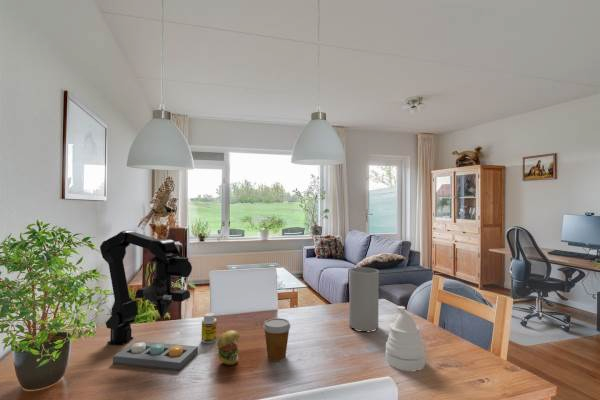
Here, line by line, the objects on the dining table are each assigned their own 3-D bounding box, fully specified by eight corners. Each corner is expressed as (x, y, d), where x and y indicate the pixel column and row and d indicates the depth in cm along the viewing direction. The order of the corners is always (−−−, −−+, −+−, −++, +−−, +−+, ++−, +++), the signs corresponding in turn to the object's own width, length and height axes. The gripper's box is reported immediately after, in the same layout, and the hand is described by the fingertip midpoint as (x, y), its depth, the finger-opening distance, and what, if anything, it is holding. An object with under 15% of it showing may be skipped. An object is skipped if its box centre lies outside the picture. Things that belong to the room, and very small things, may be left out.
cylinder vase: (356, 320, 149) (357, 266, 150) (382, 326, 142) (383, 269, 142) (344, 328, 139) (344, 270, 140) (371, 335, 132) (371, 274, 132)
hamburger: (234, 369, 103) (234, 331, 104) (213, 367, 104) (213, 330, 105) (242, 358, 111) (242, 323, 111) (222, 356, 112) (223, 321, 112)
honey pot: (377, 356, 113) (378, 305, 114) (406, 350, 118) (406, 301, 119) (403, 374, 101) (403, 317, 102) (433, 366, 106) (433, 312, 107)
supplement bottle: (203, 345, 121) (204, 317, 121) (199, 339, 126) (200, 313, 126) (218, 341, 124) (218, 315, 124) (213, 336, 129) (214, 311, 129)
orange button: (166, 360, 107) (166, 350, 107) (173, 354, 111) (173, 345, 111) (178, 361, 106) (178, 351, 106) (185, 355, 111) (185, 346, 111)
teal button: (147, 358, 108) (147, 348, 108) (154, 352, 112) (155, 343, 112) (158, 359, 107) (159, 350, 107) (166, 353, 112) (166, 344, 112)
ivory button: (128, 356, 109) (128, 347, 109) (137, 350, 114) (137, 341, 114) (140, 357, 109) (140, 348, 109) (148, 351, 113) (148, 342, 113)
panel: (112, 363, 106) (112, 356, 106) (136, 348, 118) (137, 340, 118) (179, 370, 102) (179, 362, 102) (197, 353, 114) (198, 346, 114)
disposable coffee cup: (293, 353, 115) (294, 319, 115) (284, 365, 106) (284, 329, 106) (269, 349, 118) (270, 316, 118) (258, 360, 109) (258, 325, 109)
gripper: (125, 277, 111) (123, 322, 111) (173, 281, 107) (172, 328, 107) (146, 271, 122) (145, 312, 122) (191, 274, 118) (190, 317, 118)
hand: (162, 317), depth 117 cm, fingers closed
